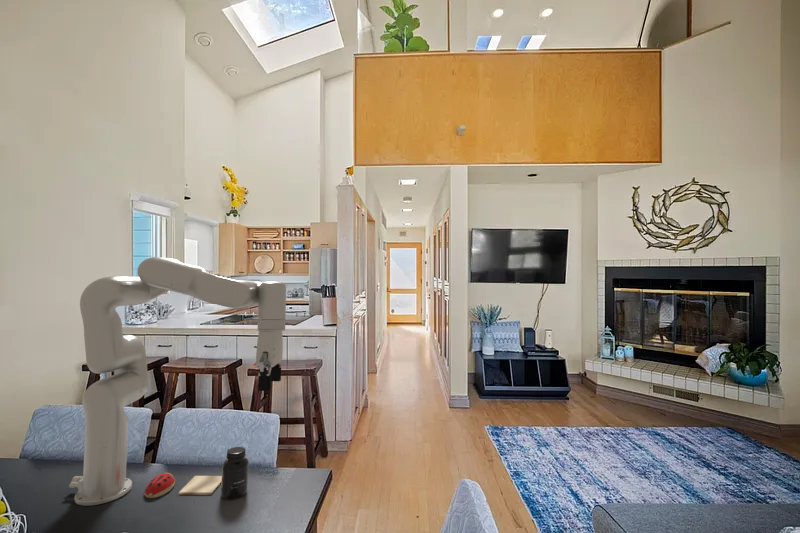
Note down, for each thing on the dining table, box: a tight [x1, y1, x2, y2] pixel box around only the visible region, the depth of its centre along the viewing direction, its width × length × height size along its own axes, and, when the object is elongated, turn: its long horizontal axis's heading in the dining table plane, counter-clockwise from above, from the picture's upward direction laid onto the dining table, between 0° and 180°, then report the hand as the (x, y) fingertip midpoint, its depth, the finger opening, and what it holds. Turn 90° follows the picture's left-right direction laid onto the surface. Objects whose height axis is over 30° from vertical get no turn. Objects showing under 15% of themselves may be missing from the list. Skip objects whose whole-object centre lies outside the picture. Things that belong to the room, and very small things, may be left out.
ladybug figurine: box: [143, 472, 176, 499], centre depth 108 cm, size 7×10×4 cm
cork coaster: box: [178, 475, 222, 496], centre depth 111 cm, size 9×9×1 cm
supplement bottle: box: [220, 446, 249, 501], centre depth 107 cm, size 7×7×12 cm
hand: (270, 385), depth 108 cm, fingers open, 9 cm apart
